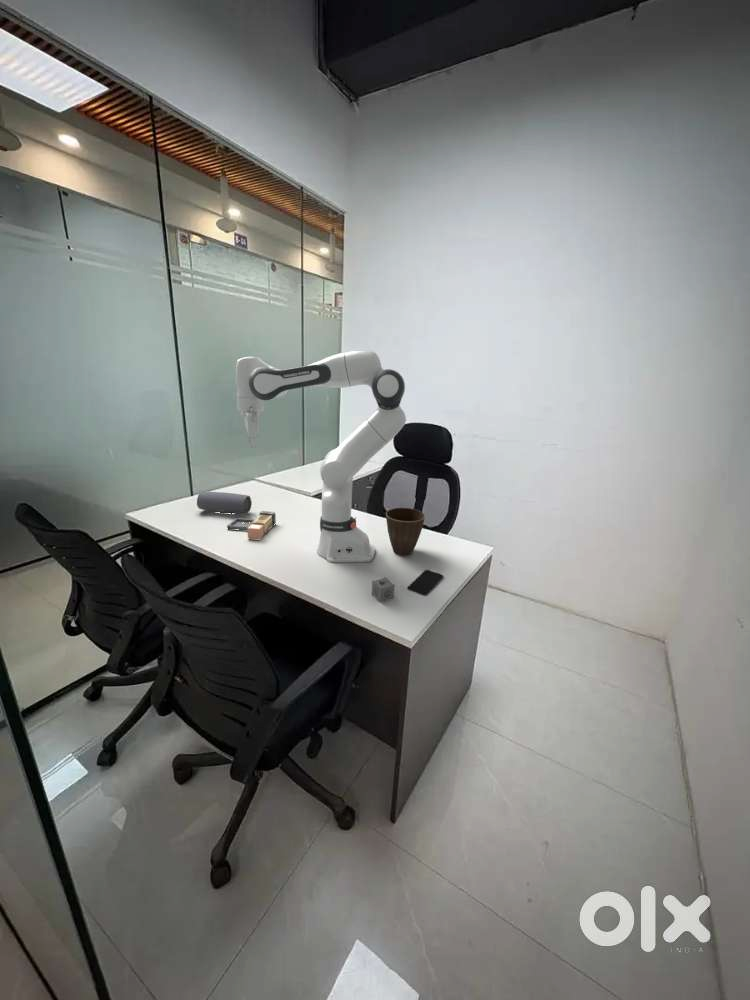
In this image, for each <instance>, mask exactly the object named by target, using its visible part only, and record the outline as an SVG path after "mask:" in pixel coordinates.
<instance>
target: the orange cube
mask: <svg viewBox="0 0 750 1000" xmlns="http://www.w3.org/2000/svg"><path fill="white" fill-rule="evenodd" d="M246 532H247V539H248V538H249V539H248V540H250V539H261V538H262V537H263V538H264V536H263V535H264V533H263V525H253V524H251V525H250V526H249V527H248V528H247V531H246ZM263 538H262V539H263ZM262 539H261V540H262Z"/></svg>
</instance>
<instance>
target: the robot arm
mask: <svg viewBox="0 0 750 1000" xmlns="http://www.w3.org/2000/svg"><path fill="white" fill-rule="evenodd" d="M405 384H406V383H405V380H404V378H403V376H402V375H401V374H400V373H399V372H398V371H397V370H394V369H391V368H390V369H384V368H383V367H382V364H381V360H380V356H379V355H378V354H377V353H376V352H375V351H372V350H354V351H353V350H351V351H347V352H346V351H345V352H340V353H336V354H333V355H330V356H327V357H324V358H323V359H320V360H317V361H315V362H313V363H311V364H308V365H307V364H306V365H304V366H303V365H302V366H297V367H292V368H287V369H280V368H277V367H274V366H271V365H270V364H268V363H266V362H265V361H263V360H262V359H261V358H260V357H257V356H246V357H241V358H239V359H238V360H237V361H236V365H235V385H236V388H237V393H236V401H237V402H236V404H237V406H236V407H237V411H238V412H239V411H240V412H241V416H243V421H244V425H245V426H244V427H245V428H246V433H247V436H248V439H249V443H250V448H254V449H255V448H257V437H259V436H260V427H259V425H260V424H259V417H261V412H264V411H265V408H264V407H265V401H270V400H272V399H277V398H281V397H284V396H286V395H287V394H288V393H289V392H290V391H291V390H296V389H301V388H307V387H321V388H322V387H323V388H332V389H335V388H336V389H339V388H341V389H343V388H349V387H355V386H363V385H365V386H367V387H370V388H371V391H372V395H373V397H374V399H375V401H376V403H377V408H376V409H375V411H374V412H373V413H372V414H371V415H370V416H368V417H367V418H366V419H365V421H363V422H362V423H361V424H360V425H358V427H356V429H354V430H353V431H352V432H351V433H350V434H349V435H348V437H346V438H345V439H344V440H343V442H341V444H339V446H337V448H334V449H331V450H329V452H328V453H327V454H326V455H325V456H324V458H323V460H322V463H321V464H320V469H319V475H320V478H321V480H322V493H321V516H320V518H319V530H320V535H319V543H318V544H317V545H318V546H317V549H316V552H317V554H318V555H319V556H320V557H322V558H324V559H326V561H328V562H329V563H366V562H367V563H368V562H370V561H372V560H373V559H374V558H375V555H376V548H375V546H374V545H373V544H372V543H370V539H369V536H368V534H367V533H366V532H364V531H363V530H362V529H361V528H359V527H358V526H357V520H356V519H357V517H353V516H352V496H353V479H354V476H356V474H357V473H358V472H359V471H361V469H363V467H364V466H365V465H366V464H367V463H368V462H369V461H370V460H371V459H372V458H373V457H374V456H375V455H376V454H377V453H379V452H380V450H381V449H384V447H386V445H388V444H389V442H391V441H392V440H393V439H394V438H395V437H396V436H397V434H399V432H400V431H401V430H402V429H403V428H404V426H405V424H406V420H407V416H406V414H405V411H404V410H403V409H402V407H401V402H402V399H403V396H404V394H405V390H406V385H405Z"/></svg>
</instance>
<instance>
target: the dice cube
mask: <svg viewBox="0 0 750 1000" xmlns="http://www.w3.org/2000/svg"><path fill="white" fill-rule="evenodd" d="M371 584H372V585H371V595H372V597H373V598H374V599H376V601H378V602H379V603H381V604H382V603H383V602H387V601H391V600H394V598H395V585H396V584H395V583H393V582H392V581H391V580H390V579H389V578H387V577H386V576H385V577H382V578H379V579H375V580H372V583H371Z"/></svg>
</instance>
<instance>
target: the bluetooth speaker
mask: <svg viewBox="0 0 750 1000" xmlns="http://www.w3.org/2000/svg"><path fill="white" fill-rule="evenodd" d="M196 507H197V508H198V509H199V510H203V511H209V512H213V513H214V512H220V513H231V514H232V513H236V514H248V513H249V512H250V511H251V509H252V498H251V496H250V495H248V494H247V495H246V494H242V493H240V494H239V493H234V492H233V493H232V492H223V491H222V492H221V491H200V492H199V493H198V495H197V497H196Z"/></svg>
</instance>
